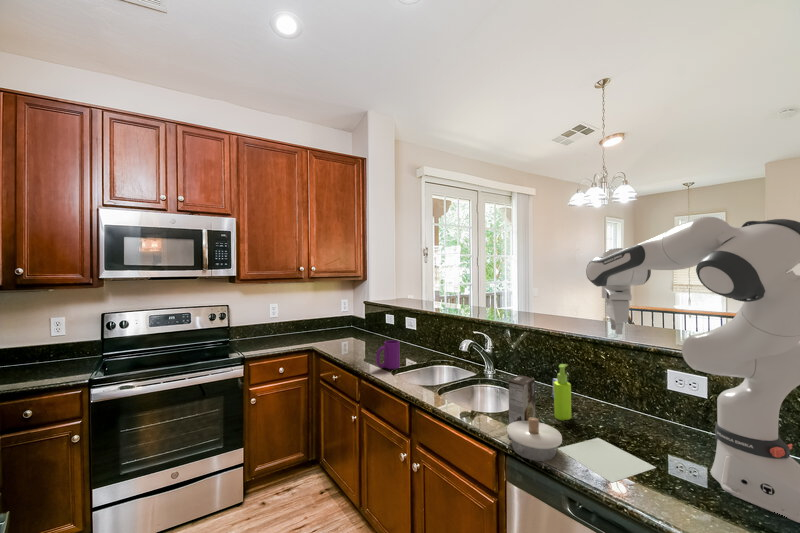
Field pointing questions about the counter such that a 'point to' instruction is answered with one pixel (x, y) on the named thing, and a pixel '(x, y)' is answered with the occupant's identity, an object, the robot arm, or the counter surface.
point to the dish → (533, 452)
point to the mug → (390, 354)
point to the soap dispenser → (562, 395)
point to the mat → (606, 459)
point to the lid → (534, 434)
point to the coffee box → (521, 398)
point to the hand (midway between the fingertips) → (616, 331)
